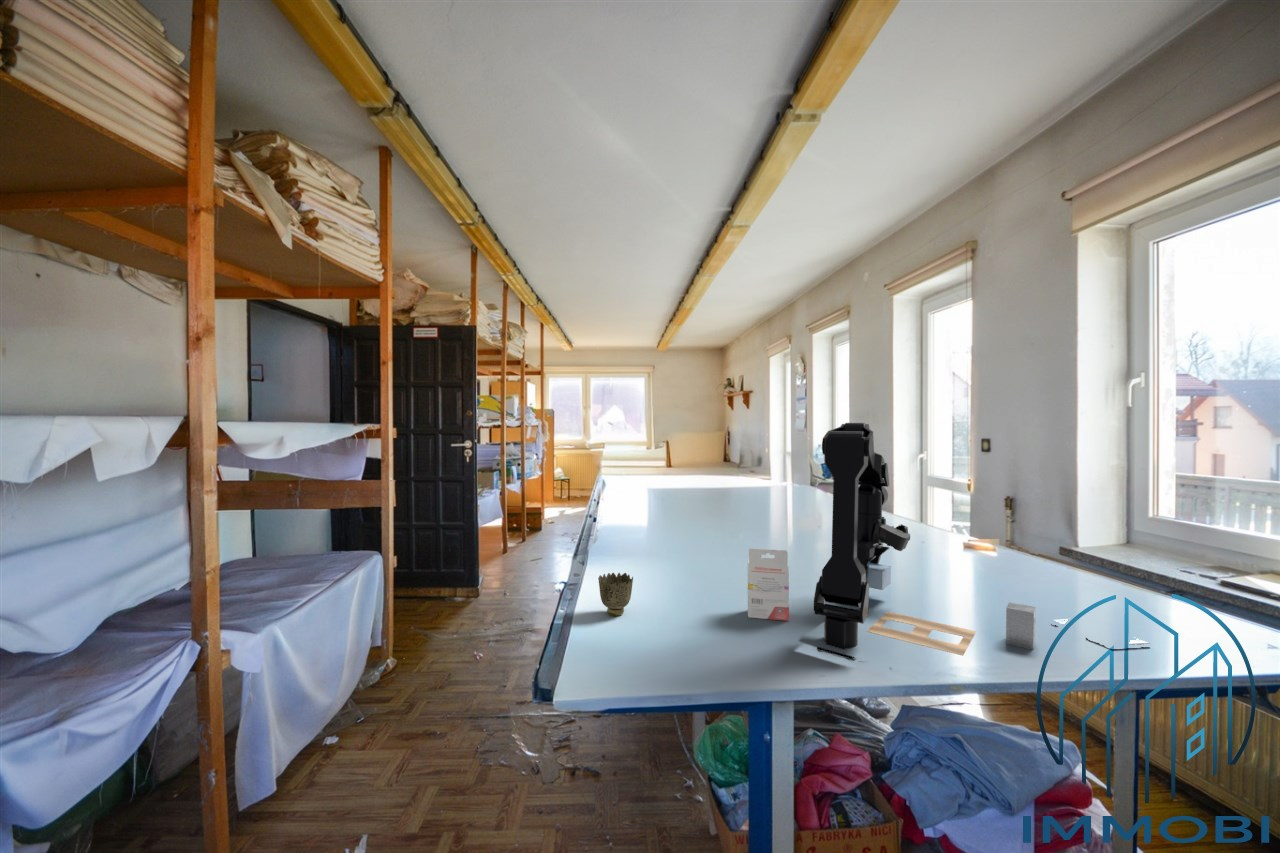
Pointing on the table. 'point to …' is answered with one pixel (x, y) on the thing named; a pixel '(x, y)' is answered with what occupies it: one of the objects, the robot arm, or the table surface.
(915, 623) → the socket board
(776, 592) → the ink cartridge box
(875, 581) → the block
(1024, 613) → the grey rectangular block
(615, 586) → the cup
